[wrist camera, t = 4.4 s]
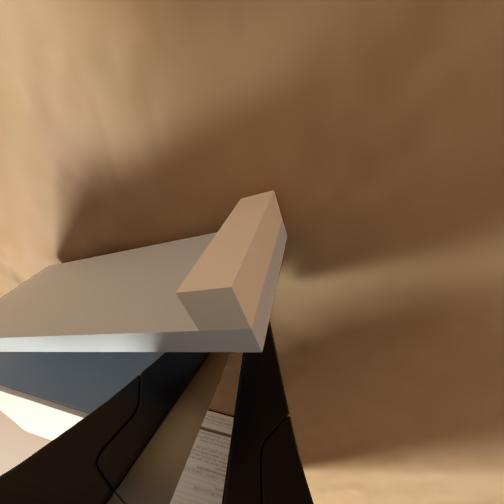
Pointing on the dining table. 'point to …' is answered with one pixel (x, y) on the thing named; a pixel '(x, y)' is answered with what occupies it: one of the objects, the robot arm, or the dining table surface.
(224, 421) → the supplement box
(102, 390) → the carton
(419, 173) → the dining table surface
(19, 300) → the flap
